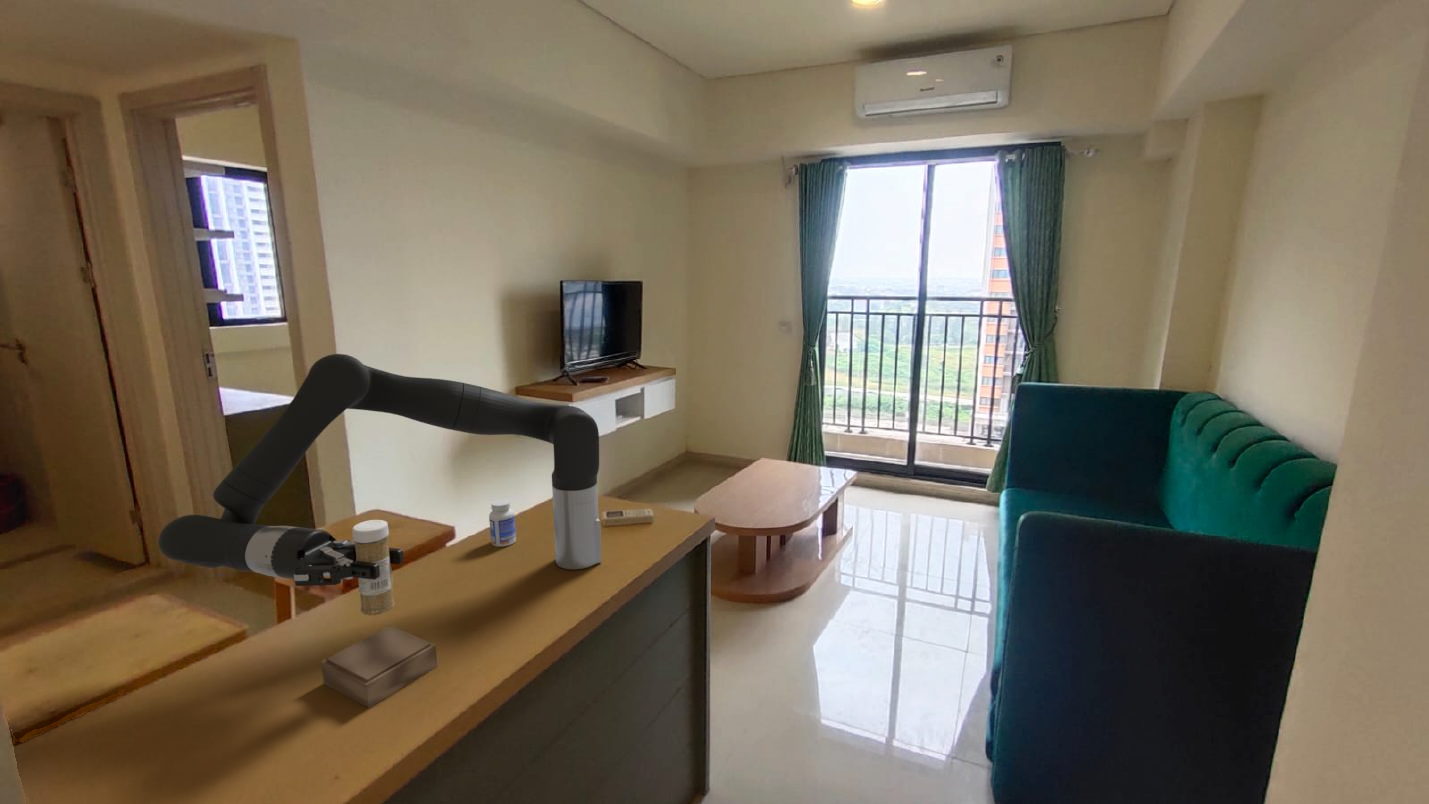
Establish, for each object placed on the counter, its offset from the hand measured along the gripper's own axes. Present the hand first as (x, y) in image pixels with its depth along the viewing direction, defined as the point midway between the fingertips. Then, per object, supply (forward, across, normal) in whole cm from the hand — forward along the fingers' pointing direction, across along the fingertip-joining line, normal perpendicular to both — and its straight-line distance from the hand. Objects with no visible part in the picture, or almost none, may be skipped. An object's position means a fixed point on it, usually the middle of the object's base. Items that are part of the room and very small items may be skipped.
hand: (389, 564), depth 90 cm
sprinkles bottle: (-3, 0, +8) cm, 8 cm away
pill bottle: (-10, +47, +18) cm, 51 cm away
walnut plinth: (-2, -1, +18) cm, 18 cm away
